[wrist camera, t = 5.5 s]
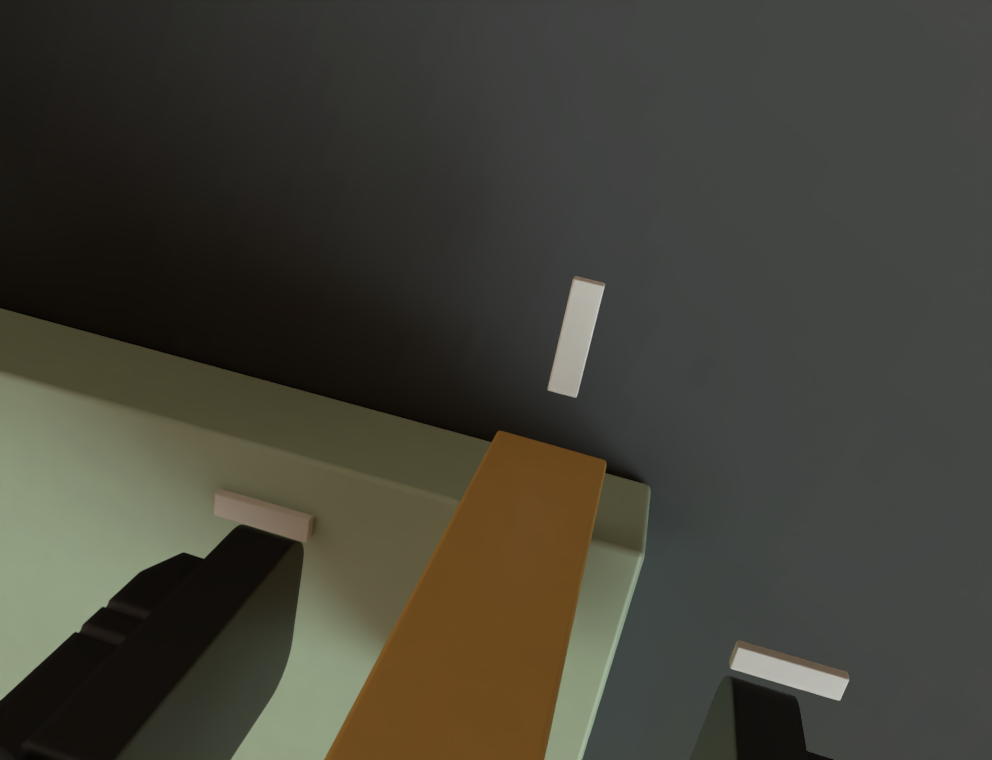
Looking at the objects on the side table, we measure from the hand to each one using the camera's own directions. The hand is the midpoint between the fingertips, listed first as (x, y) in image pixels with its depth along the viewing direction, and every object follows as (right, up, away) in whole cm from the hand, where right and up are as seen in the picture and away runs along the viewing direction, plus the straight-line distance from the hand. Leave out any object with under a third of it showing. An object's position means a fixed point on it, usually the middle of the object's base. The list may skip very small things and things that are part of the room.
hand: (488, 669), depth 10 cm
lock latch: (0, +1, +1) cm, 2 cm away
